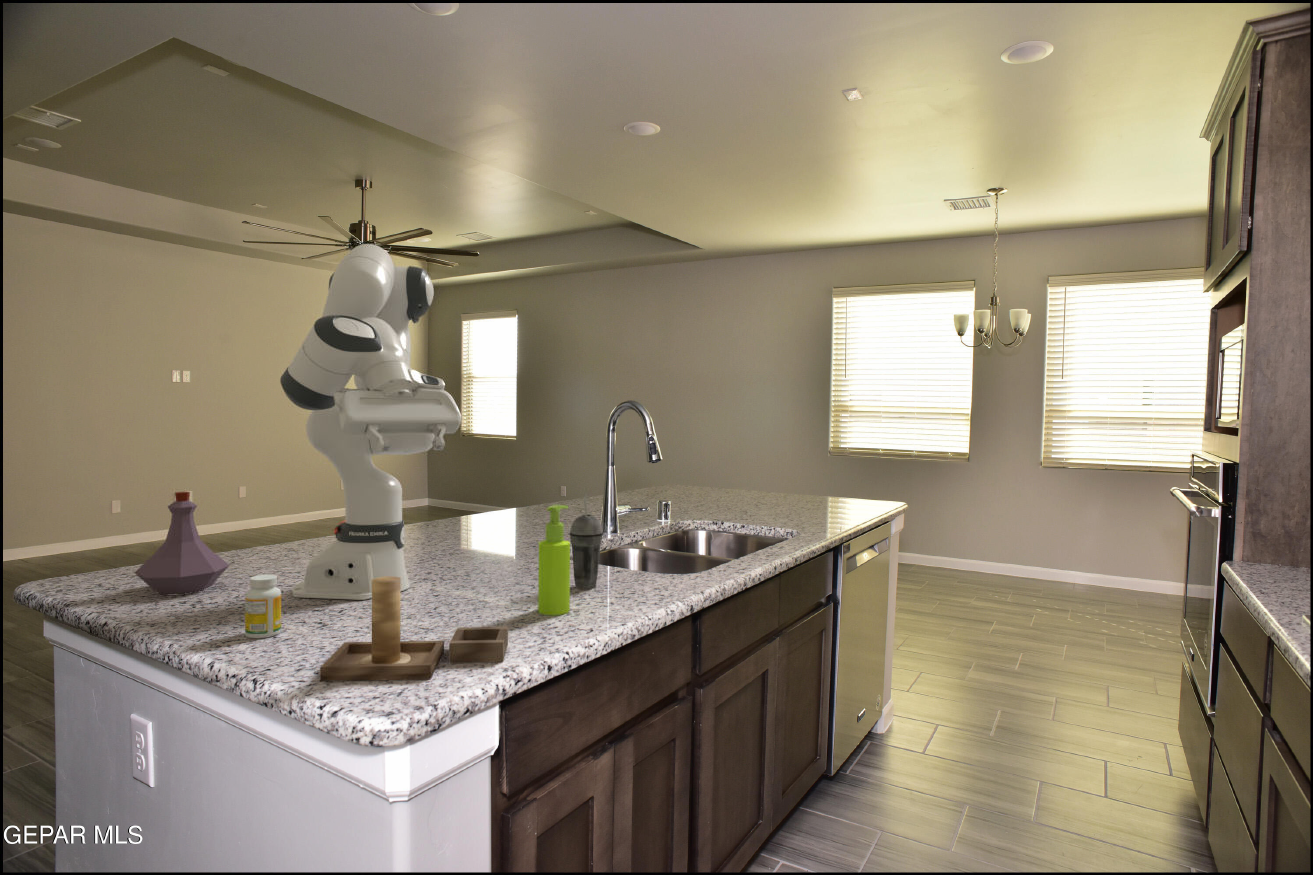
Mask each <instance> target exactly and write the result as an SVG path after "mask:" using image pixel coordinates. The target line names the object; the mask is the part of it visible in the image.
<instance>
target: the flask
mask: <svg viewBox="0 0 1313 875" xmlns="http://www.w3.org/2000/svg"><path fill="white" fill-rule="evenodd" d="M190 494H191V493H190V491H176V492H174V495H175V496H174V497H175V501H174V502H172V503H171V504H169V505H167V509H168V510H169V512H170V514H171V522H170V525H169V528H168V532H167V535H166V538H165V541H164V542H163V543H162V545H161V546H159V548H158V549H157V550H156V551H155V553H153V555H151V556H150V558H148V559H146V561H145V562H144V563H143V564H142V565H140V567H139V568H137V570H135V572H134V574H135V575H136V576H137V577H138V578H140V580H142V582H144V583H145V584H146V585H147V586H148V587H149V588H151V589H152V590H153V591H154V592H155V591H156V592H155V593H157V592H158V593H157V594H159V593H160V595H161V594H184V595H186V594H185V593H190V592H196V591H202V590H204V589H206V588H208V587H210V586H211V587H212V586H213V585H214V583H215V582H217V580H218V579H219V577H221V576H222V574H223V573H224V572H226V570H227V569H228V568H229V567H230V564H229V563H227V561H225V560H224V559H223V558H221V557H220V556H219V555H218V554H216V553H215V552H214V551H213V550H212V549H211V548H209V546H208V545H206V543H205V542H203V540H202V539H201V537H200V534H199V532H198V529H197V527H196V523H195V520H194V519H195V518H194V512H195V510H196V508H197V506H198V505H197V504H196V503H194V502H192V501H191V500H190ZM211 587H210V588H211ZM208 589H209V588H208ZM206 590H207V589H206ZM204 591H205V590H204ZM202 592H203V591H202ZM196 593H197V592H196ZM190 594H191V593H190Z"/></svg>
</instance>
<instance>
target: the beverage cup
mask: <svg viewBox="0 0 1313 875" xmlns="http://www.w3.org/2000/svg"><path fill="white" fill-rule="evenodd" d="M568 534H569V539H570V545H571V552H572V554H571V555H572V566H573V578H574V579H573V580H574V584H575V585H574V588H575V589H579V590H593V589H596V588H597V583H598V582H597V580H598V573H599V562H600V553H601V552H600V551H601V544H602V540H603V535H604V532H603V526H602V524H601V522H600V520H599V519H598V518H597V517H595V516H594V515H592V514H588V495H587V494H584V514H582V515H580V516H578V517H576V518H575V519H574V520H573V521H572V523H571V526H570V530H569V533H568Z"/></svg>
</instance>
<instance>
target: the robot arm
mask: <svg viewBox="0 0 1313 875" xmlns="http://www.w3.org/2000/svg"><path fill="white" fill-rule="evenodd" d="M327 288H328V293H327V297H326V301H325V304H324V309H323V312H322V315H321V317H320V318H318V319H317V320H315V321H314V324H313V325H312V327H311V328H310V330H309V332H308V333H307V334H306V337H305V338H304V340H303V342H302V343H301V345H300V347H299V349H297V352H296V354H295V356H294V357H293V359H292V361H291V362H290V364H289V366H288V367H286V369H285V370H284V372H283V373H282V375H281V376H280V381H279V382H280V385H281V388H282V390H283V392H284V394H285V396H286V397H287V399H288V400H290V402H292V404H294V405H295V406H296V407H299V408H301V409H304V410H308V411H311V412H310V414H309V415H308V417H307V420H306V423H305V431H306V436H307V439H308V441H309V443H310V445H311V446H312V447H314V449H315V450H316V451H318V452H319V453H320V454H322V455H323V456H325V457H326V458H327V459H328V460H329V461H330V462H331V464H332V465H333V466H334V468H335V469H336V471H337V473H338V475H339V477H340V480H341V482H342V487H343V494H344V507H345V508H344V509H345V510H344V511H345V512H344V513H345V514H344V515H345V520H342V521H340V522H339V523H338V525H336V526H335V527H334V528H333V530H334V531H333V535H335V539H336V540H335V541H333V542H332V543H331V544H330V545H327V547H325V548H324V549H322V550H321V551H320V552H318V553H317V555H315V556H314V557H313V558H311V559H310V561H309V562H308V564H307V566H306V568H305V573H304V581H303V580H302V581H300V582H299V583H297V584H296V585H294V586H293V588H292V589H291V590H292V591H291V595H292V596H293V598H306V599H309V598H311V599H328V600H329V599H331V600H332V599H335V600H357V601H361V600H362V601H363V600H369V599H372V579H375V578H378V577H387V576H393V577H399V578H401V592H403V591H405V590H407V589H409V588H410V587H411V584H410V583H411V582H410V580H409V576H408V573H407V572H408V571H407V569H406V562H405V554H404V547H405V542H406V541H405V540H406V526H405V521H404V519H403V488H402V484H401V483H400V481H399V480H398V479H397V478H396V477H395V476H394V475H392V474H390V473H388V472H386V471H384V470H382V469H379V467H377V466H376V465H375V464H374V462H373V459H372V456H374V455H375V456H377V455H379V456H386V455H387V456H388V455H389V456H397V455H398V456H407V455H413V454H419V453H423V452H428V451H429V450H431V449H432V448H433V450H434V451H443V450H444V448H445V446H446V442H445V439H444V435H446V434H448V435H450V434H455V433H456V432H457V430H458V429H459V428H460V425H461V423H462V420H463V419H462V414H461V411H460V409H459V407H458V405H457V403H456V401H455V399H454V398H453V396H452V395H451V394H450V393H449V392H448V391H446V390H445V387H446V384H445V382H444V380H443V379H441V378H439V377H435V376H432V375H428V374H426V373H421V372H420V371H417V370H415V369H412V367H411V366H410V365H411V360H412V358H411V357H412V342H411V332H410V328H409V322H410V321H412V323H413V324H416V323H419V321H420V318H422V316H424V315H426V314H427V312H428V311H429V310H430V308H431V307H432V303H433V299H434V295H435V293H434V291H435V290H434V289H435V288H434V285H433V281H432V279H431V278H430V274H429V273H428V272H427V271H426V269H425V268H422V267H418V266H412V265H409V266H397V265H395V264H394V261H393V259H392V257H391V255H390V254H389V253H388V252H387V251H386V250H385V249H383V247H380V246H379V245H376V244H372V243H364V244H359V245H357V246H355V247H354V248H352V249H350V251H349V252H348V253H346V255H344V257H343V258H342V259H341V260H340V262H339V263H338V265H337V267H336V269H335V270H334V272H332V274H331V275H330V277H329V280H328V287H327ZM352 376H353V381H354V385H355V388H347V387H346V386H347V385H348V383H349V381H350V380H351V378H352Z"/></svg>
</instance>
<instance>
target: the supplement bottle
mask: <svg viewBox="0 0 1313 875" xmlns="http://www.w3.org/2000/svg"><path fill="white" fill-rule="evenodd" d="M277 584H278V576H277V575H275V574H257V575H254V576H251V577H250V578H249V586H250V589H249V590H248V591H246V593H245V595H244V599H245V600H244V635H245V636H246V637H247V638H248V639H267V638H271V637H274V636H276V635H278V634H279V633H281V631H282V591H281V589H280V588H279V587H276V586H277Z"/></svg>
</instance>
